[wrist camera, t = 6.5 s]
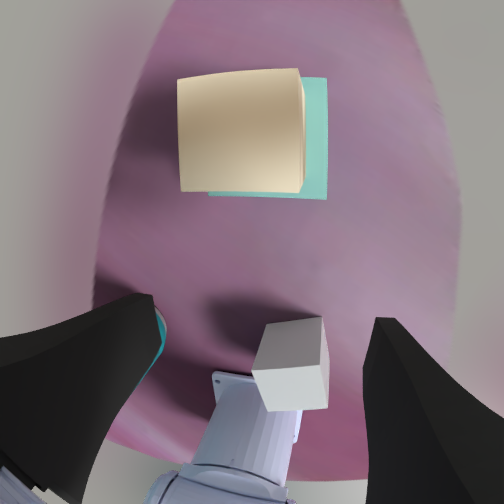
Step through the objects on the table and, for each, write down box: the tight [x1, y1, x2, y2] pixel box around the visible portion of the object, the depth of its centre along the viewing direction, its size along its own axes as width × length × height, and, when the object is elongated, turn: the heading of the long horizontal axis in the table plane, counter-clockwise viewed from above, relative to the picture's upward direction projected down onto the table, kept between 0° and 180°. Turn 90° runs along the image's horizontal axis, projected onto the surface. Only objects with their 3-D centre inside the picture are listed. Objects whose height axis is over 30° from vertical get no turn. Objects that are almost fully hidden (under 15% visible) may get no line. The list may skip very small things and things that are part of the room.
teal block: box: [208, 77, 328, 200], centre depth 14 cm, size 6×6×3 cm
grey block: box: [251, 317, 330, 412], centre depth 18 cm, size 4×4×5 cm
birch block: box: [177, 68, 306, 193], centre depth 11 cm, size 4×4×5 cm
